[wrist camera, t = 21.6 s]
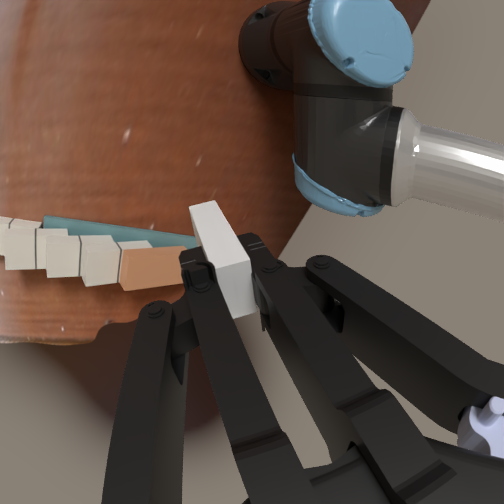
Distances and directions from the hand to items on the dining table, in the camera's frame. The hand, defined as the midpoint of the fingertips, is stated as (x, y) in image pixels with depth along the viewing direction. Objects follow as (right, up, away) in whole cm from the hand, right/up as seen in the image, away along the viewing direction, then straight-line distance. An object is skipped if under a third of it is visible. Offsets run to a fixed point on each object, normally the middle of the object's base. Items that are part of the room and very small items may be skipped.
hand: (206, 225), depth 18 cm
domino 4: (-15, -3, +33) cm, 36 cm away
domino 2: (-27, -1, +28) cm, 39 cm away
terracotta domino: (-9, -4, +36) cm, 37 cm away
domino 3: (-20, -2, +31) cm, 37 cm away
